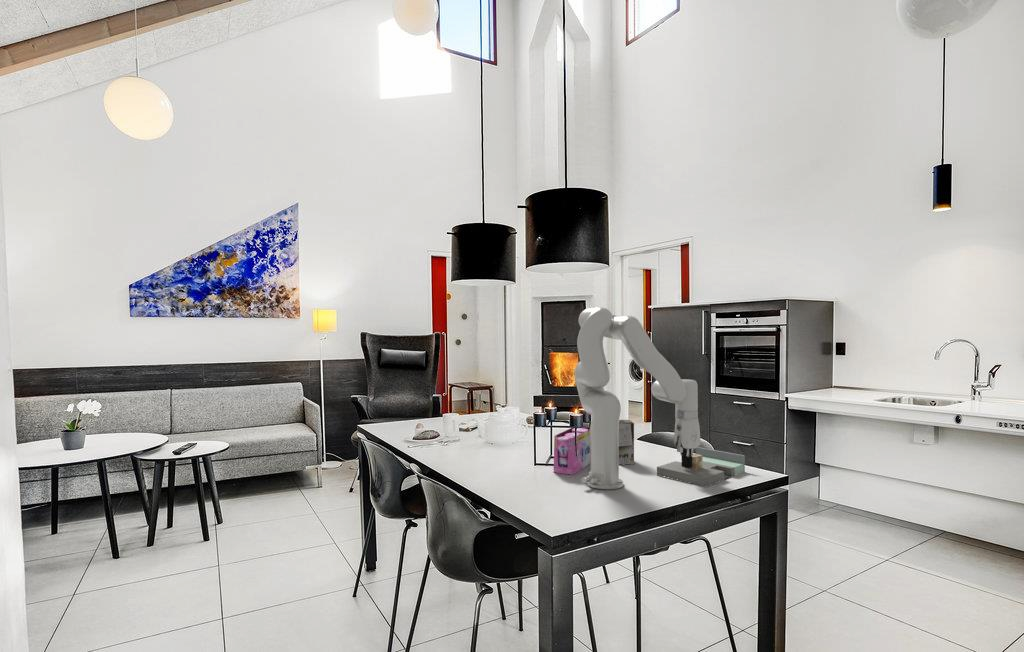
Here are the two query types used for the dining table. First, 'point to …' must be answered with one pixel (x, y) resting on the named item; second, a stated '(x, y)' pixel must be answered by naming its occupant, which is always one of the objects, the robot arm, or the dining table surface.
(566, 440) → the gum box
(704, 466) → the board
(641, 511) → the dining table surface
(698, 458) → the block
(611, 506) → the dining table surface
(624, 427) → the coffee box
